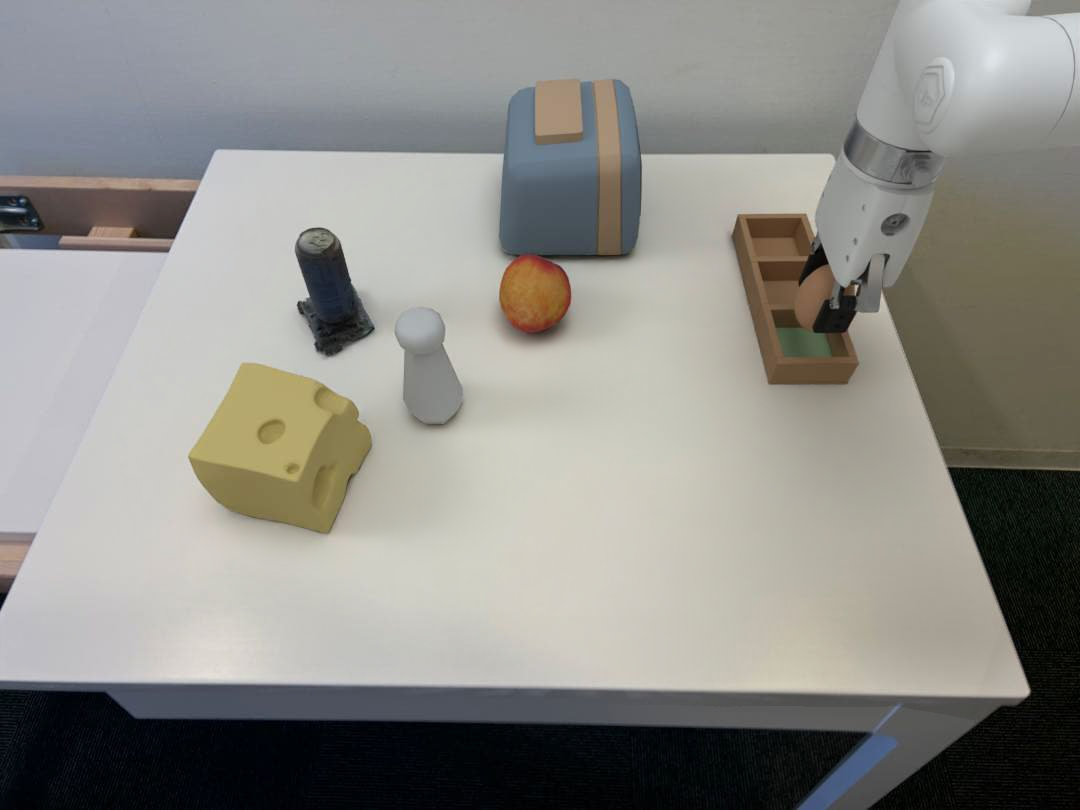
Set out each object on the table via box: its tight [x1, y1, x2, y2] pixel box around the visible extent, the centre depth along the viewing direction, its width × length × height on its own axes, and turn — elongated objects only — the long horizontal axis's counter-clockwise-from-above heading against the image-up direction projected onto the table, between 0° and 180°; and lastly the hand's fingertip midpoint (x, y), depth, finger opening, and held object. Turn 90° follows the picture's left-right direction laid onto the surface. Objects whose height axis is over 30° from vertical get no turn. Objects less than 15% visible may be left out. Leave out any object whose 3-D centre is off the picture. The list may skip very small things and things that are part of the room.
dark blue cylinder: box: [294, 226, 376, 356], centre depth 72 cm, size 9×8×12 cm
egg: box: [794, 264, 856, 332], centre depth 67 cm, size 5×5×8 cm
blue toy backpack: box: [498, 77, 643, 256], centre depth 80 cm, size 16×16×16 cm
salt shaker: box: [394, 306, 464, 425], centre depth 65 cm, size 6×6×13 cm
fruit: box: [498, 254, 572, 333], centre depth 74 cm, size 8×8×8 cm
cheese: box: [187, 362, 373, 534], centre depth 61 cm, size 10×11×10 cm
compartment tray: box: [731, 212, 860, 385], centre depth 77 cm, size 23×8×3 cm, turn 0°
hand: (821, 306), depth 68 cm, fingers closed on egg, 5 cm apart
